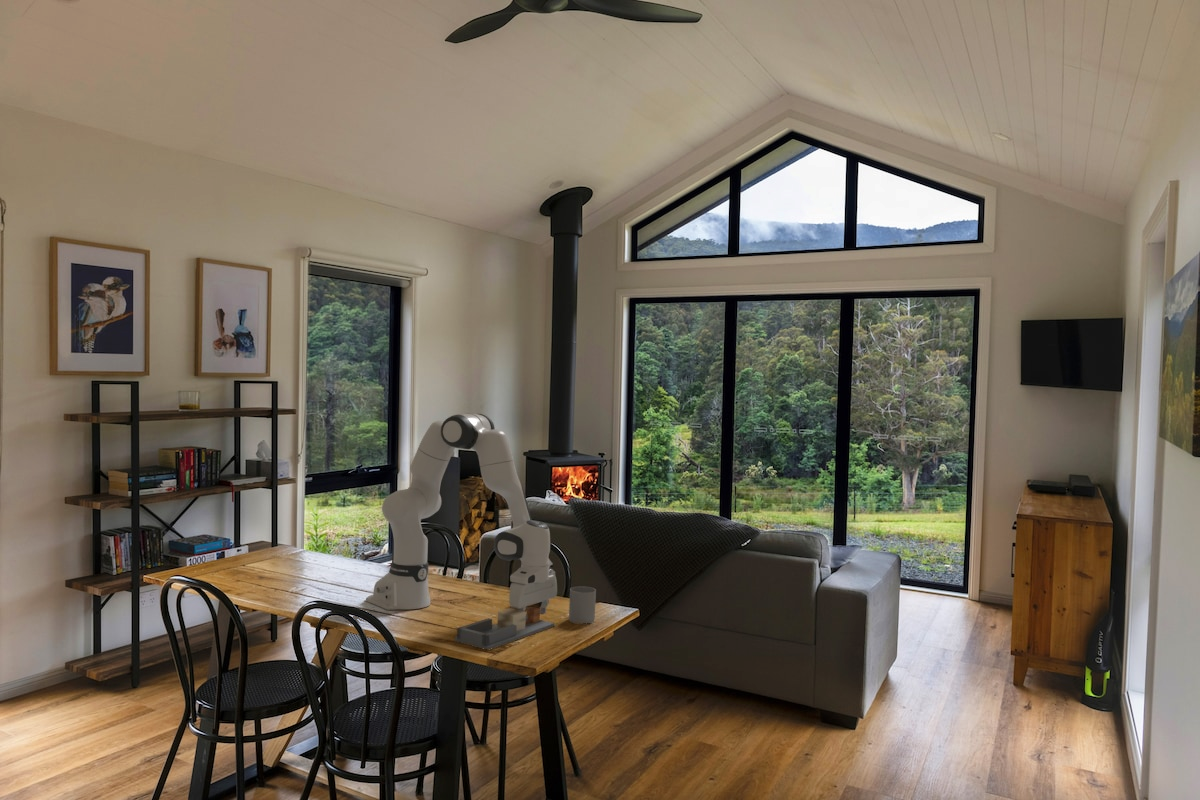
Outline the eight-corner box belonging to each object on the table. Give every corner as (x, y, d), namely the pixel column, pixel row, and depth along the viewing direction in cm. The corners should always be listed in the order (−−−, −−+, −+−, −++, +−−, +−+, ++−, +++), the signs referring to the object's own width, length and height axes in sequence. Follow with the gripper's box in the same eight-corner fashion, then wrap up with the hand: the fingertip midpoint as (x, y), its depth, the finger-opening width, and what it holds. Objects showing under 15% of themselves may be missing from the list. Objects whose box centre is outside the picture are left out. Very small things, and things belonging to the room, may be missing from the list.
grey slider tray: (454, 641, 237) (454, 627, 237) (521, 618, 263) (522, 606, 263) (488, 650, 230) (488, 636, 230) (554, 626, 256) (554, 613, 256)
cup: (600, 620, 264) (601, 590, 264) (582, 625, 258) (583, 594, 258) (580, 615, 270) (582, 585, 270) (563, 619, 264) (564, 588, 264)
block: (497, 628, 248) (497, 612, 247) (528, 618, 260) (529, 602, 260) (512, 632, 244) (513, 616, 244) (543, 621, 257) (544, 606, 257)
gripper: (547, 566, 267) (545, 608, 268) (506, 576, 250) (504, 621, 251) (562, 569, 264) (560, 611, 264) (522, 580, 247) (520, 625, 247)
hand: (533, 616), depth 257 cm, fingers open, 8 cm apart
